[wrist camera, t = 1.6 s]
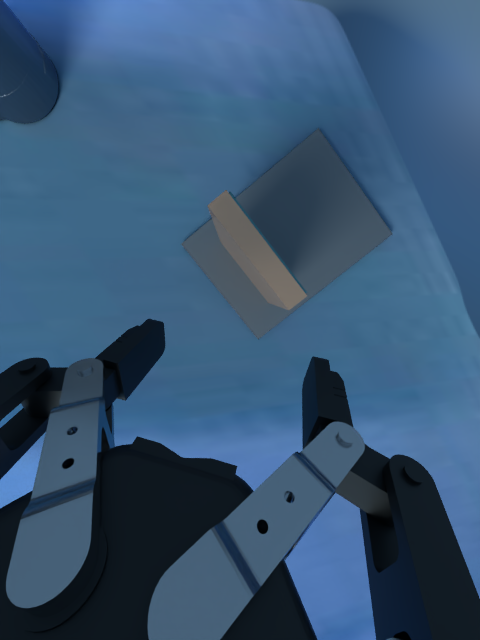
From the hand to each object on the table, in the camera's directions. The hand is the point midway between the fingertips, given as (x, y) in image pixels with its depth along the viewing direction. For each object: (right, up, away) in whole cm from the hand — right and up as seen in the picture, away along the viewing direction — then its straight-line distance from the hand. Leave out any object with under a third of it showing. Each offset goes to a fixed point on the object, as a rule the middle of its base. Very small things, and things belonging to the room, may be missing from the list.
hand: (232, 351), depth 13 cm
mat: (+6, +12, +19) cm, 23 cm away
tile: (+2, +8, +18) cm, 20 cm away
